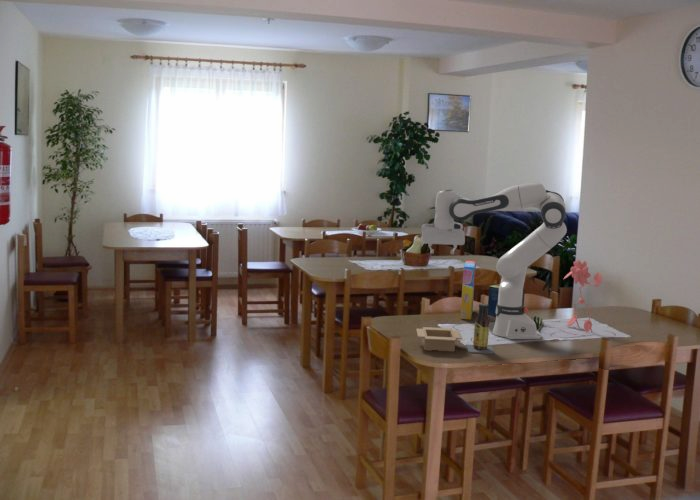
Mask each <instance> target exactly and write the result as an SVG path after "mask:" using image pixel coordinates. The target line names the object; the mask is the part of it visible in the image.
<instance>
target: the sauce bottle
mask: <svg viewBox="0 0 700 500" xmlns="http://www.w3.org/2000/svg"><path fill="white" fill-rule="evenodd" d="M488 306H489V305H488V303H484V302H480V303H479V304H478V313H477V316H476V318H475V321H474V328H473V329H474V331H473V342H472V345H473V347H474V348H476V349H480V350H485V349H487V345H489V343H488V342H489V335H490V334H489V333H490V318H489V315H488Z"/></svg>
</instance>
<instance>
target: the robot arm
mask: <svg viewBox="0 0 700 500" xmlns="http://www.w3.org/2000/svg"><path fill="white" fill-rule="evenodd" d="M565 203H566V202H565V201H564V197H562V195H561V194H560V193H558V192H555V191H551V190H547V189H546V188H545V186H544V185H543V184H542V183H539V182H530V183H529V182H527V183H522V184H516V185H512V186H509V187H506V188H504V189H502V190H501V191H499V192H497V193H496V194H493V195H490V196H487V197H483V198H478V199H470V198H468V197H466V196H464V195H461V194H460V193H458V192H456V191H455V190H454V189H443V190H440V191H438V192H437V193H436V197H435V204H434V205H435V206H434V210H435V215H434V221H433V222H434V223H424V224H422V225H421V227H420V232H421V237H420V239H421V240H420V242H421V243H422V244H426V245H427V244H428V248H429V250H430V252H429V253H430V254H434V252H435V249H433V248H432V246H433V245H449V246H450V245H452V246H453V249H450V255H455V250H456V249H457V248H458V246H464V245H465V242H466V236H465V235H466V234H465V231H464V230H463V229H464V225H463V224H462V223H460V222H464V221H467V220H468V219H469V218H470V217H472V216H475V215H477V214H482V213H487V212H493V211H518V210H525V209H529V208H535V209H537V210H539V212H540V218H541V220H542V224H541V225H540V226H538V227H536V229H534V231H532V232H531V233H530V234H528V235H527V236H526V237H525V238H524V239H522V240H521V241H520V242H518V243H517V244H516V245H514V246H513V247H512V248H511V249H510V250H507V252H505V253H504V254H503V255H502V256H500V257H499V259H498V261H497V262H496V264H495V269H496V271H497V274H498V276H501V280H500V283H499V284H500V286H499V293H498V303H497V307H496V317H495V322H494V326H493V329H492V331H491V332H492V334H493V335H495V336H497V337H501V338H505V339H509V340H540V339H541V338H542V334H541V333H540V331H538V329H537V324H536V322H535V320H533V319H532V318H531V317H530V316H529V315H527V313H528V312H529V309H528V307H525V306H522V294H523V289H524V285H525V282H526V277H527V276H526V275H527V269H528V267H530V266H531V265H533V264H534V263H535V262H536V261H537V260H539V259H540V258H541V257H542V256H544V255H545V254H546V253H547V252H549V251H550V250H551V249H552V248H554V247H555V246H556V245H557V244H558V243H559V242H560V241H561V240H562V239H563V238H564V237H565V236H566V234H567V231H568V229H567V225H566V224H565V222H564V221H565V217H566V215H567V214H566V213H567V212H566V208H567V207H566V204H565Z"/></svg>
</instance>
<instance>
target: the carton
mask: <svg viewBox="0 0 700 500" xmlns="http://www.w3.org/2000/svg"><path fill="white" fill-rule="evenodd" d="M415 330H416V334H417V337H418V338H421V339H422V340H421V341H422V347H423V350H424V351H432V350H438V352H455V348H456V342H457V340H463V336H462V334H461V332H460V330H458V329H453V328H448V327H430V326H427V327H426V326H425V327H424V326H422V328H416V329H415Z"/></svg>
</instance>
